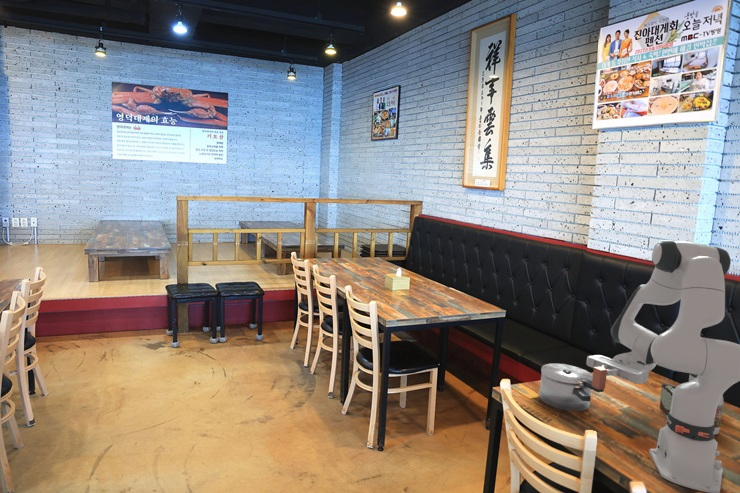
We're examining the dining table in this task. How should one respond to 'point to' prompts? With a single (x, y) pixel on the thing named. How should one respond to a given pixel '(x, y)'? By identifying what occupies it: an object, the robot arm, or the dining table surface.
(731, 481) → the dining table surface
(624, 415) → the dining table surface
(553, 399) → the cooker pot
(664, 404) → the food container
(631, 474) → the dining table surface
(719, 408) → the milk bottle
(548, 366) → the lid
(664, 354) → the robot arm
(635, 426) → the dining table surface
